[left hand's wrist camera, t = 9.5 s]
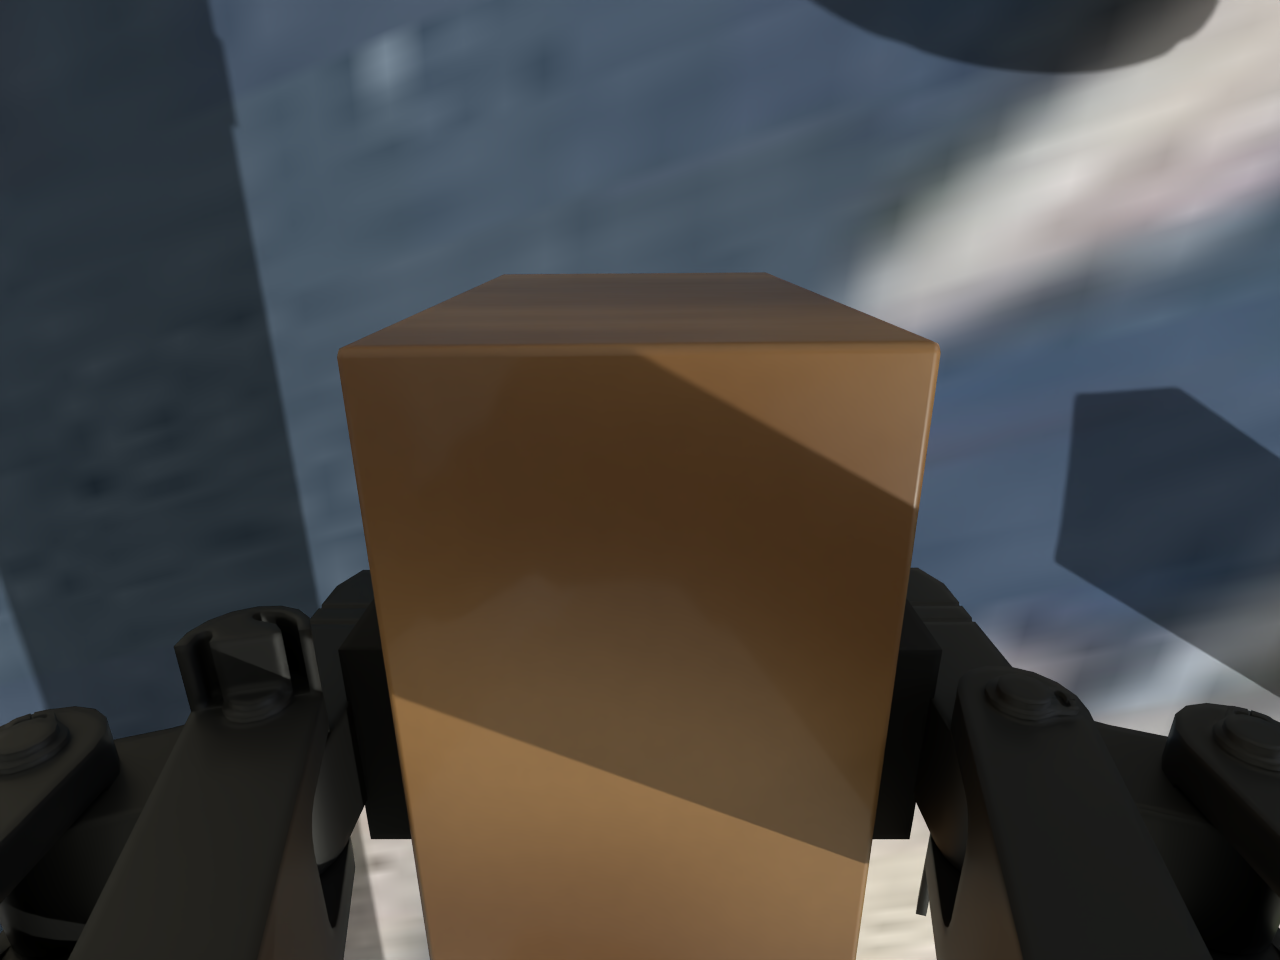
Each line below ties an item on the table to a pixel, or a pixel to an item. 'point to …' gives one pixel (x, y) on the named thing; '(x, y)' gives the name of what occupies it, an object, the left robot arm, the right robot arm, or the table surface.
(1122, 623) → the table surface
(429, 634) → the post
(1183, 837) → the left robot arm
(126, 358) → the table surface
